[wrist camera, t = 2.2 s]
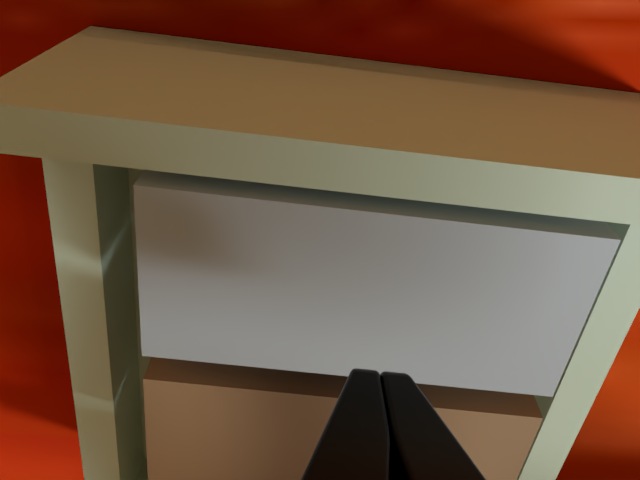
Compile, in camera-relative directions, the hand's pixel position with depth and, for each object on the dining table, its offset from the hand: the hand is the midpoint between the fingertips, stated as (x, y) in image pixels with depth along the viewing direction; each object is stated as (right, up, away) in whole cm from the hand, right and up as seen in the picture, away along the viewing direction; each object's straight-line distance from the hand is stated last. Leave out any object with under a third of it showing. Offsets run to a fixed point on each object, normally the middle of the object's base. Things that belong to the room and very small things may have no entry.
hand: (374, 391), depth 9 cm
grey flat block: (0, +2, +4) cm, 4 cm away
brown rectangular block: (0, -1, +6) cm, 6 cm away
